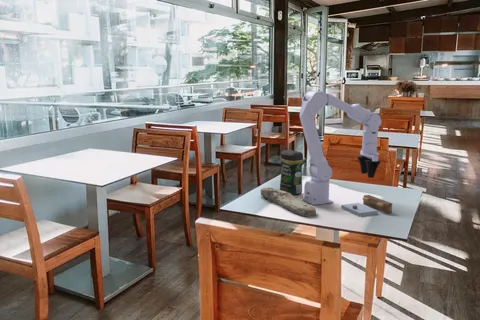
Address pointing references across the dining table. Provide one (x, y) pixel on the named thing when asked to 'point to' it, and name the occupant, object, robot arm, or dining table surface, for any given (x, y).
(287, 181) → the coffee jar
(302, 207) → the long grey stone
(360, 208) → the door panel
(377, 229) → the dining table surface
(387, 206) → the brown long block
